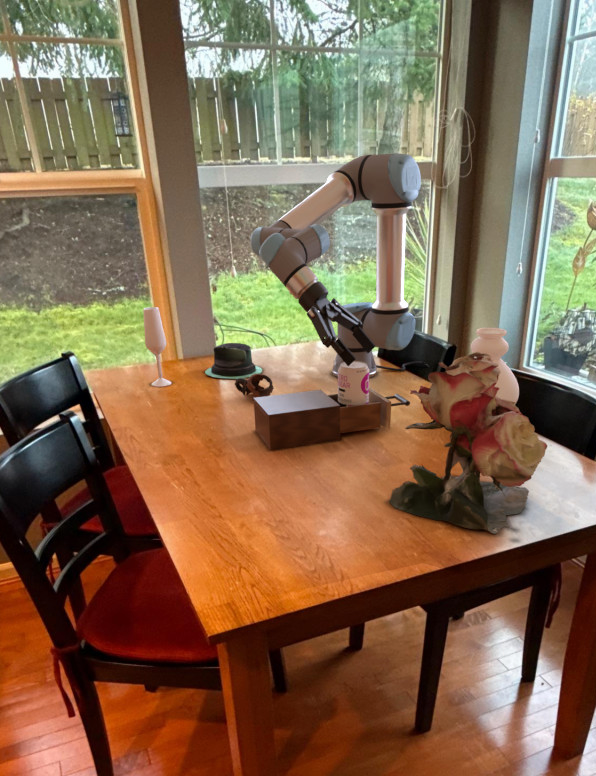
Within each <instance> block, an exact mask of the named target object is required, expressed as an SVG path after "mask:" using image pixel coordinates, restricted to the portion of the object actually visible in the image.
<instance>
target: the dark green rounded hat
mask: <svg viewBox="0 0 596 776" xmlns="http://www.w3.org/2000/svg"><path fill="white" fill-rule="evenodd" d="M213 357H214V358H213V361H214V362H213V364H212V366H211V367H209V368H207V369H206V370H205V371H204V373H205V375H207V376H209V377H212V378H218V379H219V378H220V379H231V380H232V379H233V380H237V379H239V378H243V379H247V378H250V376H252V375H254V374H262V372H263V368H262V367H260V366H258V365H256V364H254V362H253V357H252V347H251V346H250V345H248V344H246V343H241V342H227V343H222V344H219V345H216V346H214V347H213Z"/></svg>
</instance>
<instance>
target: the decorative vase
mask: <svg viewBox="0 0 596 776" xmlns="http://www.w3.org/2000/svg"><path fill="white" fill-rule="evenodd" d="M507 333H508V331H507V330H506V329H505V328H499V327H479V328H477V329H476V330H475V334H476V335H478V337H476V338H475V339H474V340H473V341H472V342H471V344H470V351H471V352H472V354H473V353H475V352H480V353H482V354H483V353H484V354H488V355H489V356H491V360H492V361H493V363H496V364H498V365H499V366H498V367H496V368H499V369H500V374H499V376H498V381H497V383H496V385H495V386H494V387H498V388H499V390H498V391H497V394H496V396H497V397H498V398H500V399H504V400H508V401H512V402H515V405H516V404H517V402H518V400H519V396H520V387H519V383H518V379H517V377H516V376H515V374H514V373H513V371H512V370H511V368H510V367H509V365H508V364H507V363H506V362H505V361H504V360H503V359H502V357H503V356H504V355H505V354H507V352H508V351H509V349H510V347H509V343H508V341H506V339H505V338H504V337H505V336H507ZM474 358H477V357H474Z"/></svg>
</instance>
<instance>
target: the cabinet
mask: <svg viewBox="0 0 596 776" xmlns="http://www.w3.org/2000/svg"><path fill="white" fill-rule="evenodd" d="M328 395H329V394H327V393H326V392H324V391H323V390H321V389H315V390H307V391H298V392H290V393H283V394H281V393H280V394H273V395H269V396H265V397H256V398H253V397H252V398H253V399H252V401H253V400H254V401H253V414H254V415H253V416H254V426H255V427H254V429H255V432H256V434H257V435H258V436H259V437H260V439H261V440H262V442H263V443H264V444H265V446H267V448H268V449H269V450H270V451H276V450H277V451H278V450H283V449H290V448H297V447H303V446H304V447H305V446H311V445H316V444H323V443H331V442H337V441H341V433H340V405H339V404H338V403H336V402H335V401H334V400H333V399H331V398H330V397H329V396H328Z"/></svg>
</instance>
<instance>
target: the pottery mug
mask: <svg viewBox="0 0 596 776" xmlns="http://www.w3.org/2000/svg"><path fill="white" fill-rule="evenodd" d="M263 380H265V381H266V382H267V383H269V384H268V386H267V387H264V386H261V385H260V382H262V381H263ZM234 386H235V388H236V389H237V390H238V391H239V392H240V393H241V394H242V396H249V395H250V394H253V396H252V398H251V399H252V401H253V402H254V400H253V398H256V397H265V396H271V394H272V393H273V391H274V389H275V388H274V385H273V381H272V379H271V378H270V377H269V376H268V375H266V374H263V373H260V374H254V375H252V376H250V377H248V379H247V378H244V379H243V378H239V379H235V382H234Z"/></svg>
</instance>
